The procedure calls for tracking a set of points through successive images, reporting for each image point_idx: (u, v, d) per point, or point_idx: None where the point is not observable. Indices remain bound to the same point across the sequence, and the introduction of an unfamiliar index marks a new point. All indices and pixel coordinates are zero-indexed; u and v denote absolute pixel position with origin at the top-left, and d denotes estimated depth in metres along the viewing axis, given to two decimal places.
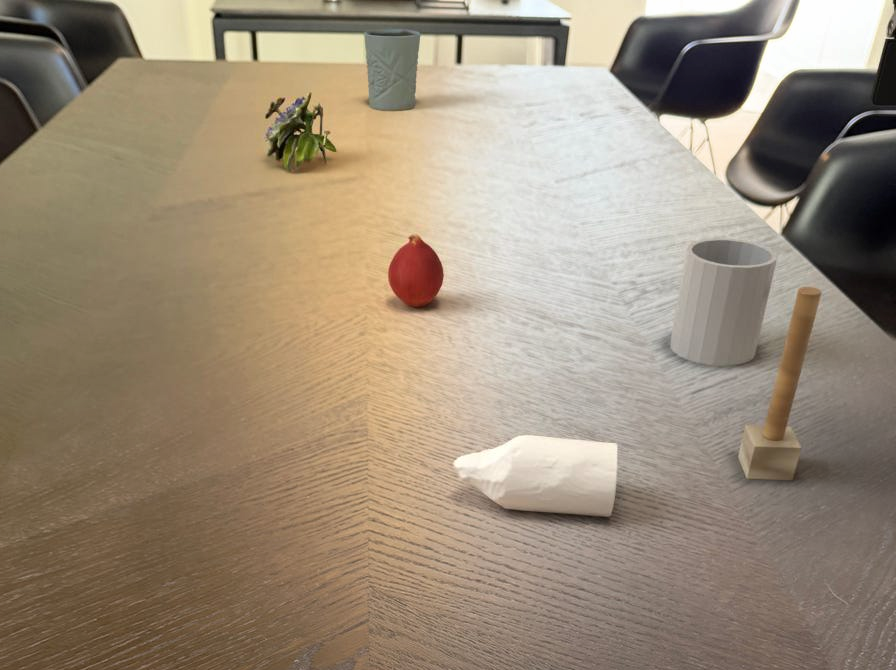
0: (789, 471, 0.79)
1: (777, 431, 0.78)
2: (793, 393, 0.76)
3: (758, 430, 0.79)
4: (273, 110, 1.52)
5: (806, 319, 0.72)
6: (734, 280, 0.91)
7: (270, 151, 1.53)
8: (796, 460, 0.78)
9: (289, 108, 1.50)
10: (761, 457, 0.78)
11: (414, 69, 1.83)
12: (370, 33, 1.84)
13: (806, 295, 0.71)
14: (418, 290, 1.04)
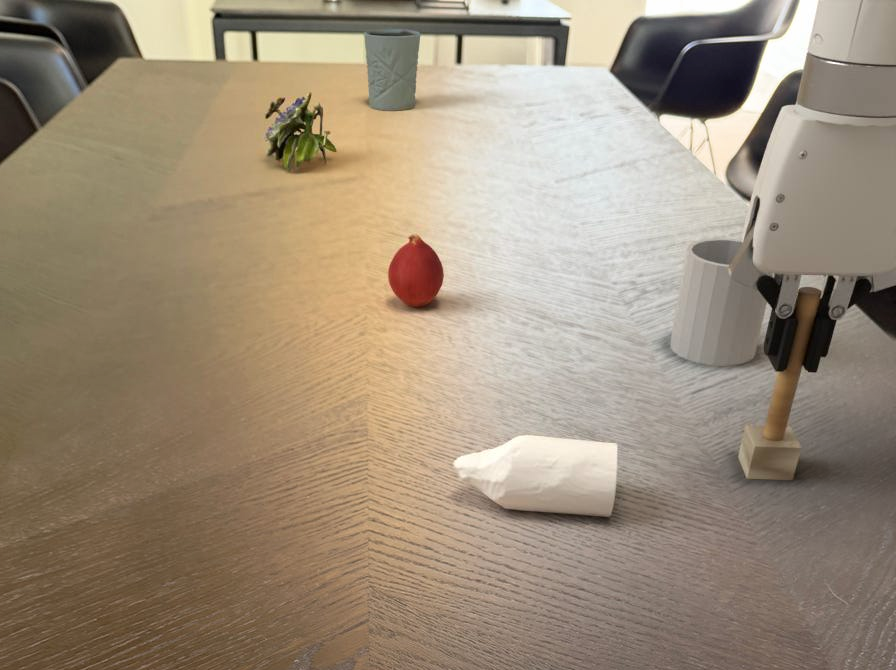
0: (789, 471, 0.79)
1: (777, 431, 0.78)
2: (793, 393, 0.76)
3: (758, 430, 0.79)
4: (273, 110, 1.52)
5: (806, 319, 0.72)
6: None
7: (270, 151, 1.53)
8: (796, 460, 0.78)
9: (289, 108, 1.50)
10: (761, 457, 0.78)
11: (414, 69, 1.83)
12: (370, 33, 1.84)
13: (806, 295, 0.71)
14: (418, 290, 1.04)
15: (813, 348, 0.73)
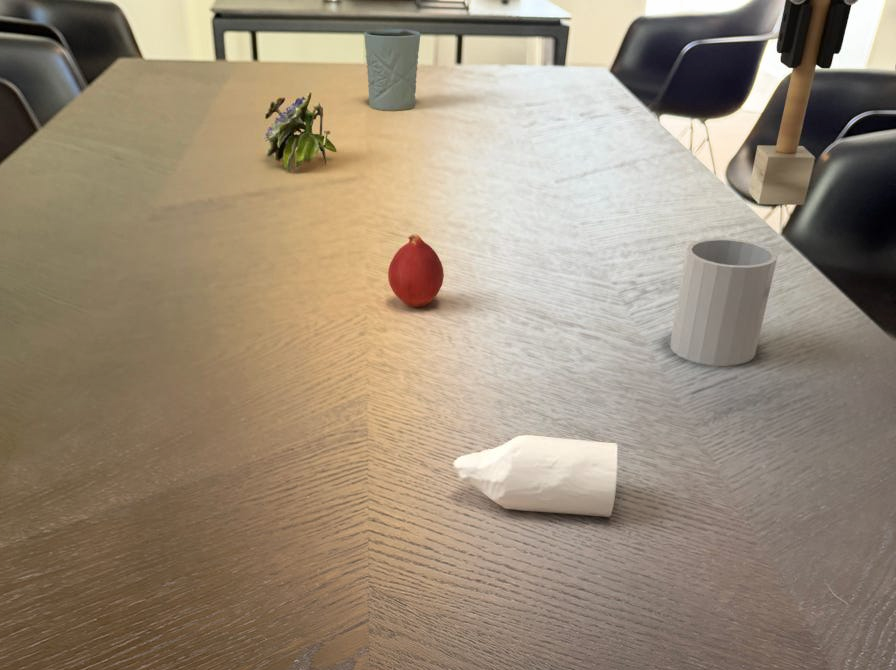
0: (802, 186, 0.78)
1: (790, 142, 0.77)
2: (807, 97, 0.76)
3: (771, 148, 0.79)
4: (273, 110, 1.52)
5: (820, 6, 0.72)
6: (734, 280, 0.91)
7: (270, 151, 1.53)
8: (810, 172, 0.78)
9: (289, 108, 1.50)
10: (774, 170, 0.78)
11: (414, 69, 1.83)
12: (370, 33, 1.84)
13: None
14: (418, 290, 1.04)
15: (827, 39, 0.72)
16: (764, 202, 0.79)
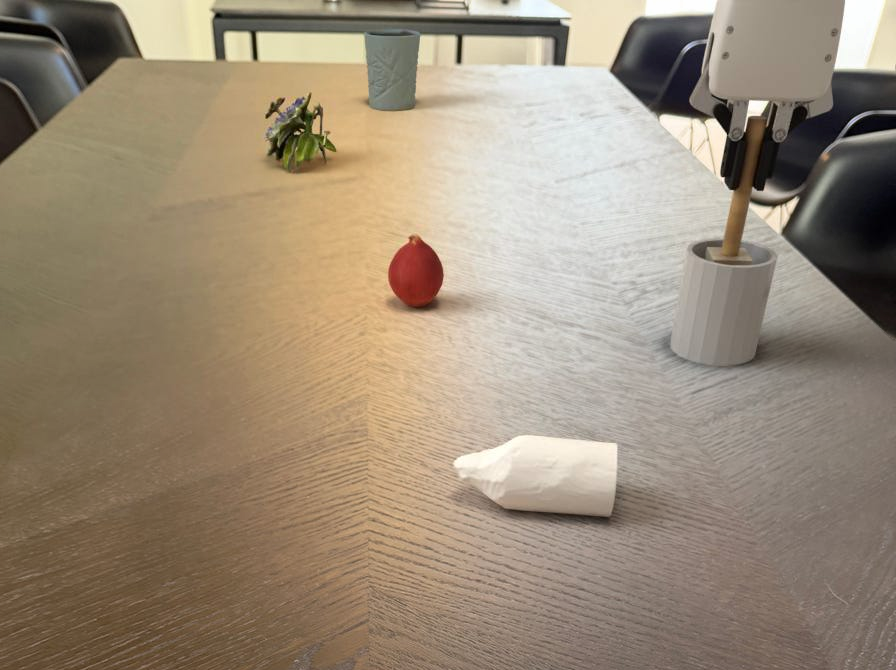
0: None
1: (732, 247, 0.92)
2: (745, 212, 0.91)
3: (717, 250, 0.94)
4: (273, 110, 1.52)
5: (754, 142, 0.87)
6: (734, 280, 0.91)
7: (270, 151, 1.53)
8: None
9: (289, 108, 1.50)
10: None
11: (414, 69, 1.83)
12: (370, 33, 1.84)
13: (754, 121, 0.86)
14: (418, 290, 1.04)
15: (760, 168, 0.87)
16: None
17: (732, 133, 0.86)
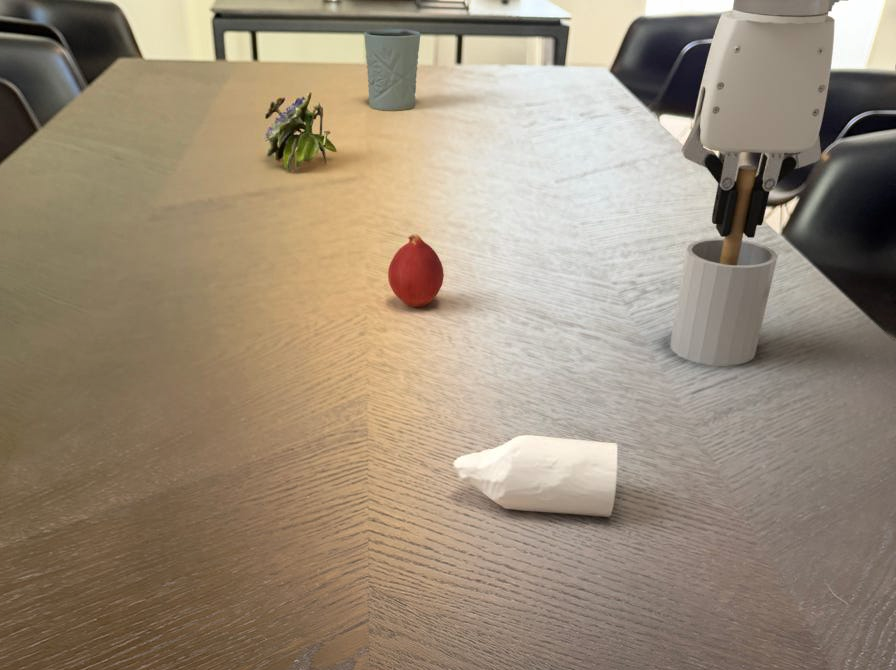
0: None
1: None
2: (736, 257, 0.93)
3: None
4: (273, 110, 1.52)
5: (745, 191, 0.89)
6: (734, 280, 0.91)
7: (270, 151, 1.53)
8: None
9: (289, 108, 1.50)
10: None
11: (414, 69, 1.83)
12: (370, 33, 1.84)
13: (744, 171, 0.88)
14: (418, 290, 1.04)
15: (751, 216, 0.90)
16: None
17: (723, 182, 0.89)
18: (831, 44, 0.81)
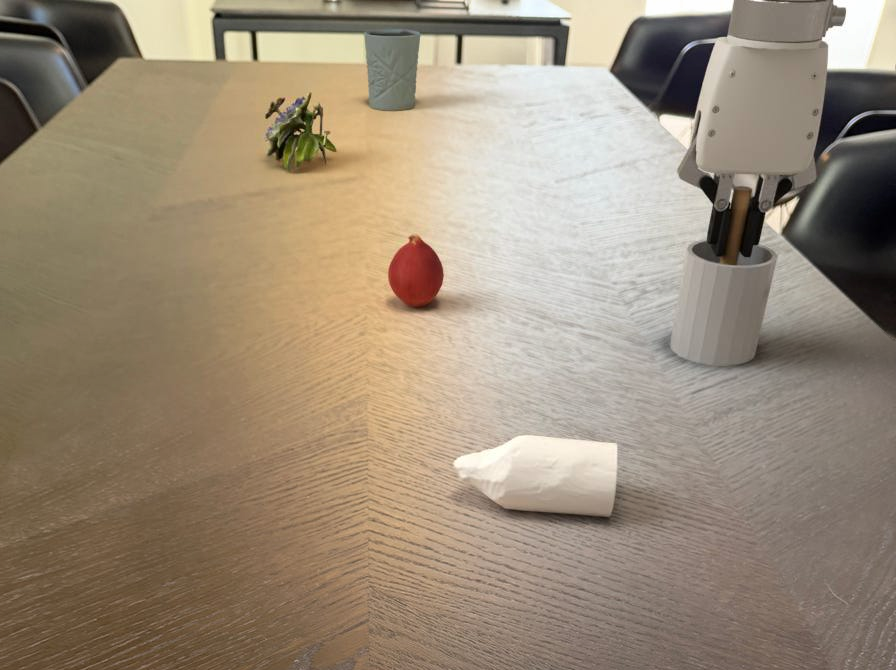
0: None
1: None
2: None
3: None
4: (273, 110, 1.52)
5: (740, 211, 0.90)
6: (734, 280, 0.91)
7: (270, 151, 1.53)
8: None
9: (289, 108, 1.50)
10: None
11: (414, 69, 1.83)
12: (370, 33, 1.84)
13: (739, 192, 0.89)
14: (418, 290, 1.04)
15: (747, 236, 0.91)
16: None
17: (718, 204, 0.90)
18: (825, 69, 0.82)
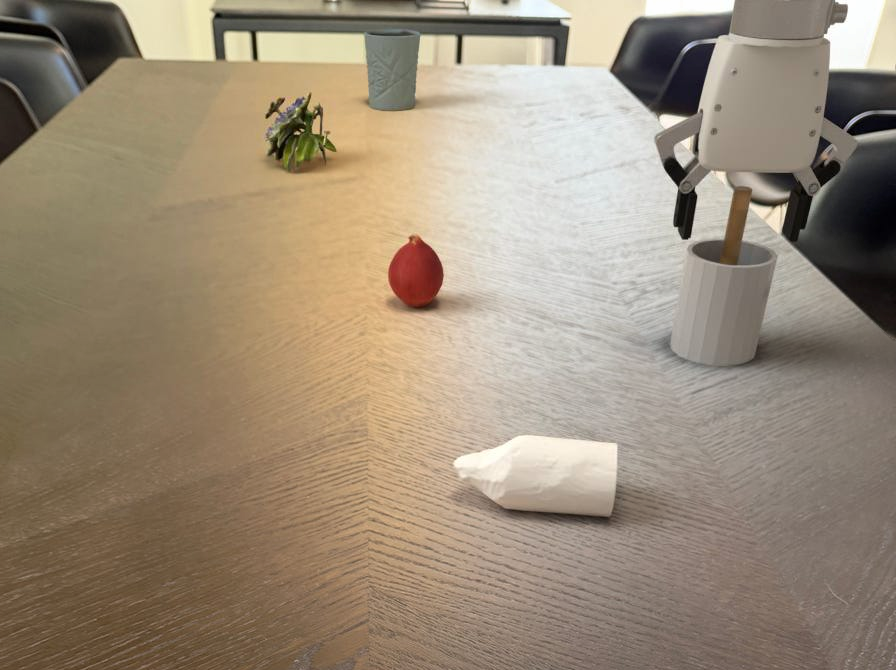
0: None
1: None
2: None
3: None
4: (273, 110, 1.52)
5: (740, 211, 0.90)
6: (734, 280, 0.91)
7: (270, 151, 1.53)
8: None
9: (289, 108, 1.50)
10: None
11: (414, 69, 1.83)
12: (370, 33, 1.84)
13: (740, 192, 0.89)
14: (418, 290, 1.04)
15: (794, 220, 0.90)
16: None
17: (682, 186, 0.89)
18: (827, 66, 0.82)
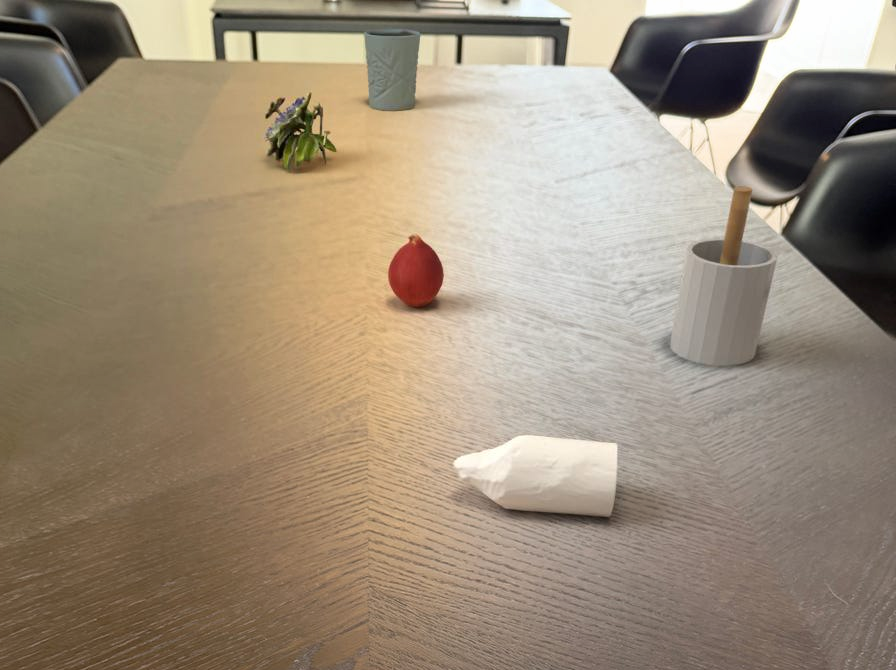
0: None
1: None
2: None
3: None
4: (273, 110, 1.52)
5: (740, 211, 0.90)
6: (734, 280, 0.91)
7: (270, 151, 1.53)
8: None
9: (289, 108, 1.50)
10: None
11: (414, 69, 1.83)
12: (370, 33, 1.84)
13: (740, 192, 0.89)
14: (418, 290, 1.04)
15: None
16: None
17: None
18: None
